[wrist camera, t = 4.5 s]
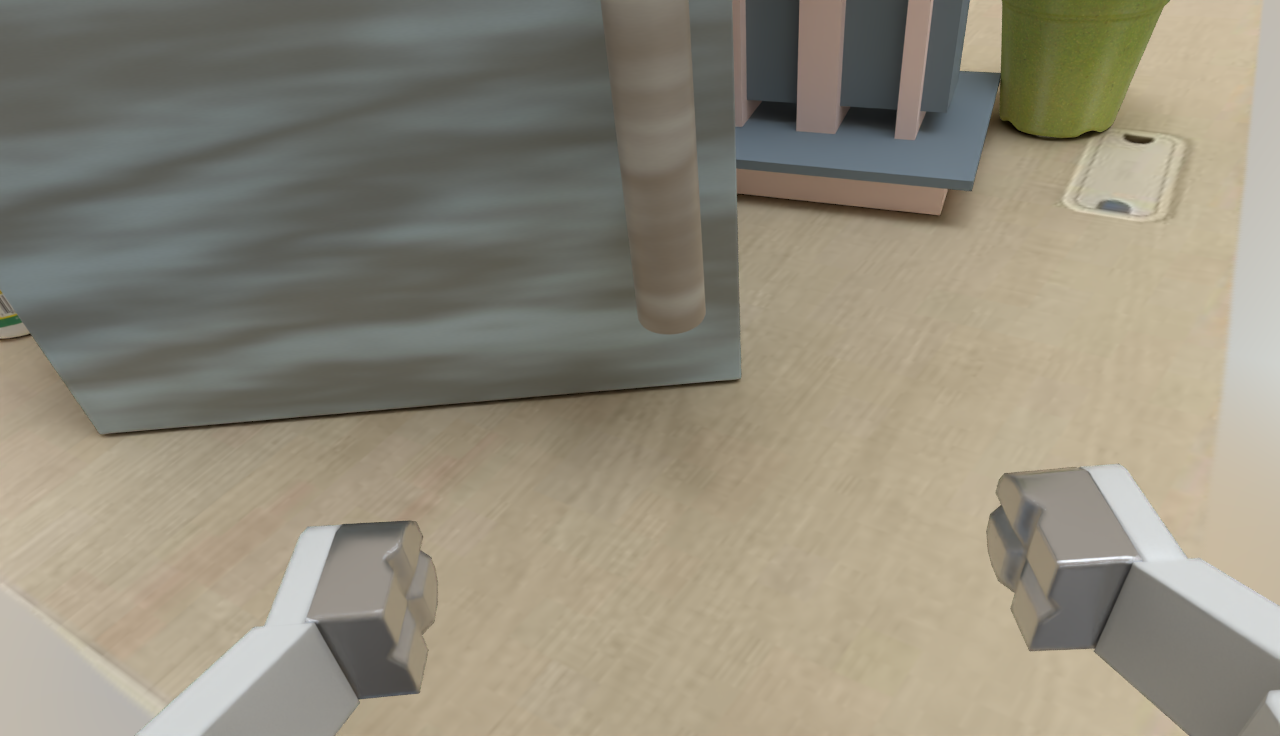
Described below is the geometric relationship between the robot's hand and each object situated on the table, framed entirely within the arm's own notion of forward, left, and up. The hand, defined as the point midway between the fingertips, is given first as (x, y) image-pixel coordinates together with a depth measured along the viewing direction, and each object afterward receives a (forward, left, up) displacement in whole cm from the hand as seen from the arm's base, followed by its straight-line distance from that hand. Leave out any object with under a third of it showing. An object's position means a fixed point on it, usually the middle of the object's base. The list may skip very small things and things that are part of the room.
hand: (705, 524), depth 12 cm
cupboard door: (-5, +17, -12) cm, 22 cm away
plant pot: (+35, +28, -12) cm, 47 cm away
